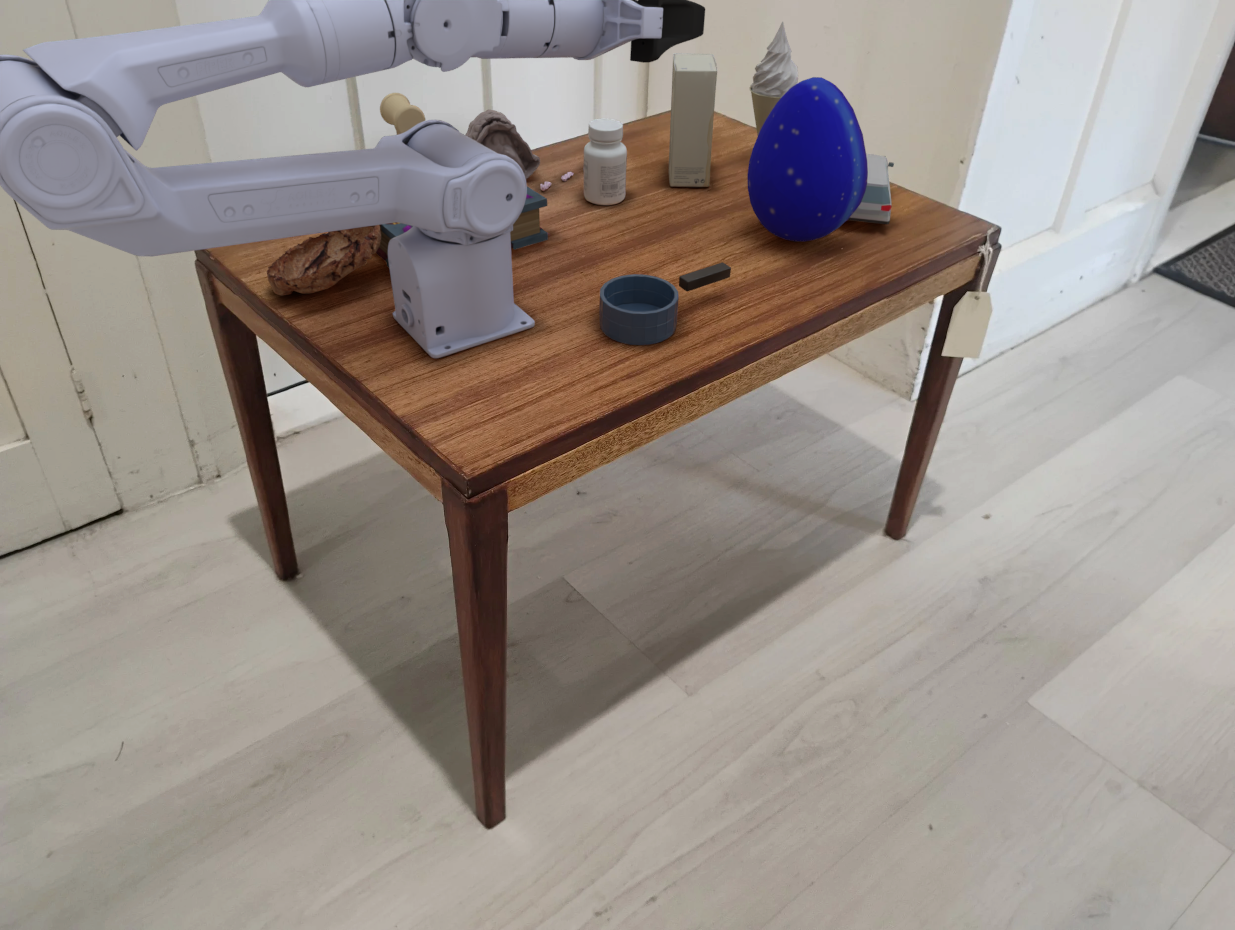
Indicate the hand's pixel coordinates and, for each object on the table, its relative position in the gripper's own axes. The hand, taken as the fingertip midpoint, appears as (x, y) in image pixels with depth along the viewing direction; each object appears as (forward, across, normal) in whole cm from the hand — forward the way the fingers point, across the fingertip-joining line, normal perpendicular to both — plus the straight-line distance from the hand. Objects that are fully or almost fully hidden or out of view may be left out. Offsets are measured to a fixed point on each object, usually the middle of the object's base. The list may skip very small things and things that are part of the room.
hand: (667, 17), depth 78 cm
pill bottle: (+7, +16, +18) cm, 25 cm away
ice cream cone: (+27, +12, +15) cm, 34 cm away
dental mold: (0, +24, +14) cm, 28 cm away
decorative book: (-10, +17, +21) cm, 28 cm away
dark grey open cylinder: (-6, -5, +23) cm, 25 cm away
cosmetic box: (+18, +14, +17) cm, 28 cm away
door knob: (-10, +23, +14) cm, 29 cm away
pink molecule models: (+4, +21, +18) cm, 28 cm away
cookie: (-24, +16, +19) cm, 35 cm away
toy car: (+27, -2, +18) cm, 32 cm away
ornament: (+16, -3, +19) cm, 25 cm away
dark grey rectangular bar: (0, -7, +20) cm, 21 cm away
